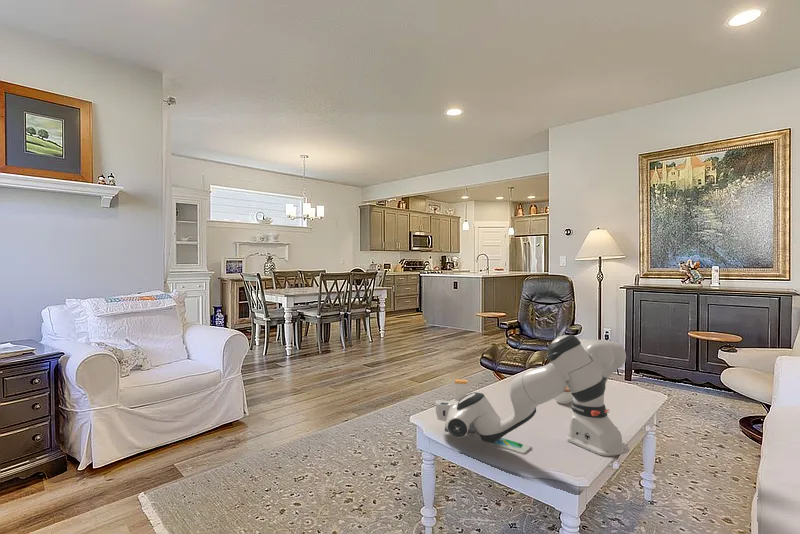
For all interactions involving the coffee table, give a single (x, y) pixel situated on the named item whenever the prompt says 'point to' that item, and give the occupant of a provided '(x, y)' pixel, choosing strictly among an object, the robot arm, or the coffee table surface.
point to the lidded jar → (564, 397)
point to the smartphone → (512, 446)
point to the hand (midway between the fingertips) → (460, 402)
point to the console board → (471, 428)
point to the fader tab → (460, 389)
